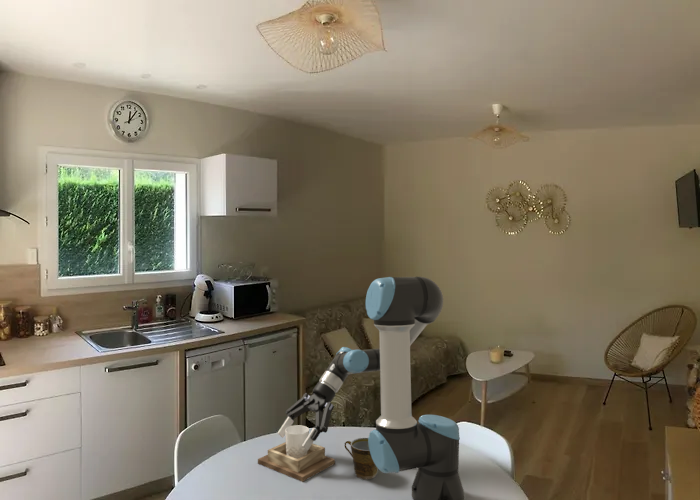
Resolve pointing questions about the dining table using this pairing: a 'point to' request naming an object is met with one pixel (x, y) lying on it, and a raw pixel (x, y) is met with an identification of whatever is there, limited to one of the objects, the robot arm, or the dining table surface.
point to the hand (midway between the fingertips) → (292, 441)
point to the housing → (297, 462)
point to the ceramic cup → (362, 458)
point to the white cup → (296, 440)
